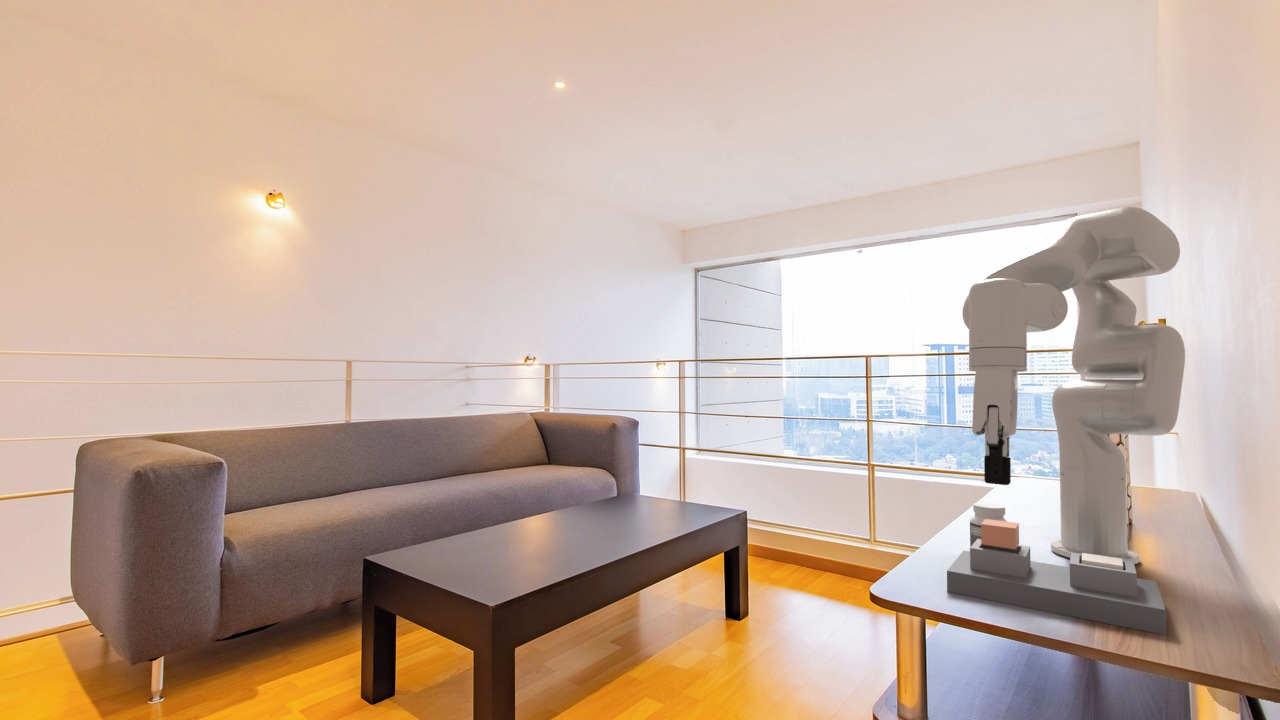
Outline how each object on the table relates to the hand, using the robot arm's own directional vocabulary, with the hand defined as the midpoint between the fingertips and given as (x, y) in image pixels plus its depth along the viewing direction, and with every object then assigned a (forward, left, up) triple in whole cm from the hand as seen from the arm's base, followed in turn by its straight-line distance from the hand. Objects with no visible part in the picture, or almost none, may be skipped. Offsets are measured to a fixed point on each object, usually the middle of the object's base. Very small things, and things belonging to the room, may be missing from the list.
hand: (997, 483), depth 89 cm
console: (-1, +6, -16) cm, 17 cm away
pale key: (-1, +12, -12) cm, 17 cm away
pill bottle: (-14, -3, -16) cm, 21 cm away
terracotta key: (-1, 0, -9) cm, 9 cm away
